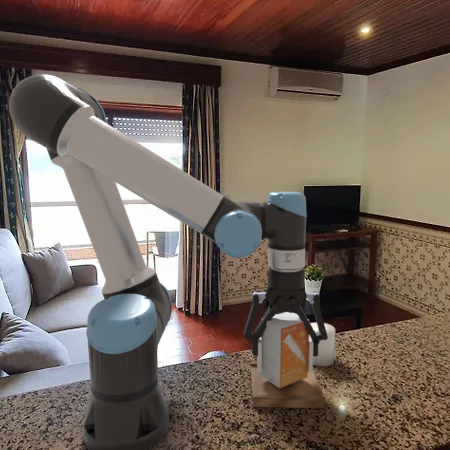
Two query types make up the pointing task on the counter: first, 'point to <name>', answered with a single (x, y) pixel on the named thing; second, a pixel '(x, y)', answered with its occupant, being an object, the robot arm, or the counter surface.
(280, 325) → the small box
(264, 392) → the walnut board
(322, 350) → the white cylinder
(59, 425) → the counter surface
